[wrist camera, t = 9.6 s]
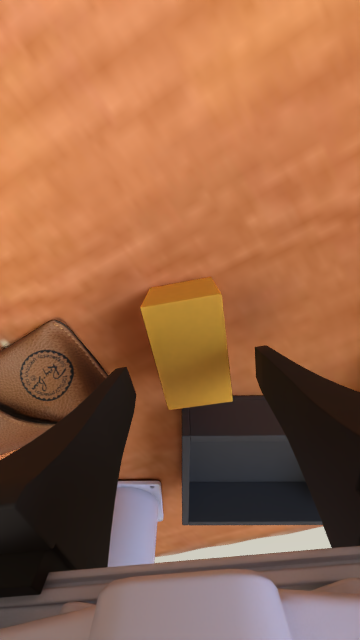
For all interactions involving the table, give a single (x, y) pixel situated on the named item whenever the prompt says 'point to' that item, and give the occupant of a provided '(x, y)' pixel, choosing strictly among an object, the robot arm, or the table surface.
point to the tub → (241, 468)
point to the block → (189, 342)
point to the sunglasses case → (43, 382)
